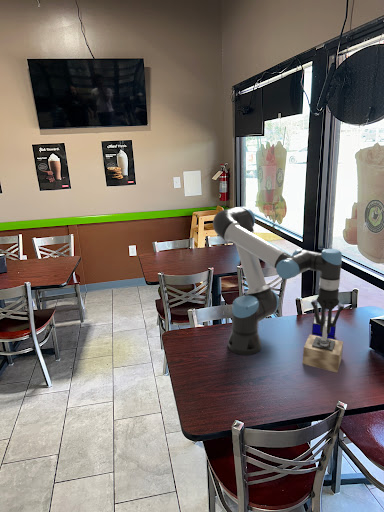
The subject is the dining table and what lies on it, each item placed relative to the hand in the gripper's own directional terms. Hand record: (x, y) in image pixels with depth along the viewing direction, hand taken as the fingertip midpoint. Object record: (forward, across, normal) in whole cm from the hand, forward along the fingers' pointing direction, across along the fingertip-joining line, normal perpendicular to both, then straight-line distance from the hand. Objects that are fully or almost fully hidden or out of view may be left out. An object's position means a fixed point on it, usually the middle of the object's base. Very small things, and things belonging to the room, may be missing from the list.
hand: (324, 339), depth 150 cm
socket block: (+10, 0, 0) cm, 10 cm away
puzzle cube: (+11, -3, +19) cm, 22 cm away
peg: (+8, 0, 0) cm, 8 cm away
